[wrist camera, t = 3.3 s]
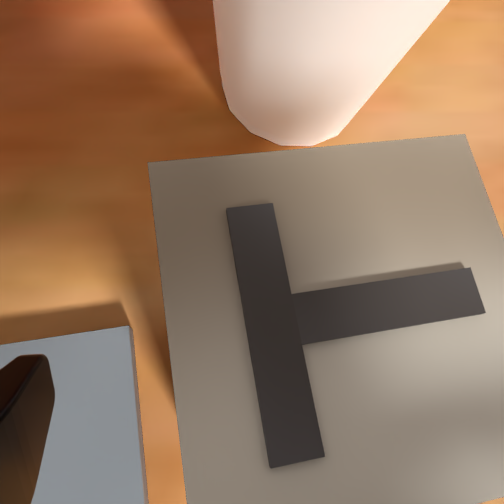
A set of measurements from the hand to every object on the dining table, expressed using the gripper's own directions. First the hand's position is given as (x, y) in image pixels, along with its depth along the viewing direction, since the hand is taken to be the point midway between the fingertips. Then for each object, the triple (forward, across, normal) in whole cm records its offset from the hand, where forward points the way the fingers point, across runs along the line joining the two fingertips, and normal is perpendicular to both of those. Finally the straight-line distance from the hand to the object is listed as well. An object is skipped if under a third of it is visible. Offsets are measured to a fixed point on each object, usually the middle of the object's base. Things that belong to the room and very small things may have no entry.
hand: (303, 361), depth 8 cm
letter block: (+6, 0, +6) cm, 8 cm away
